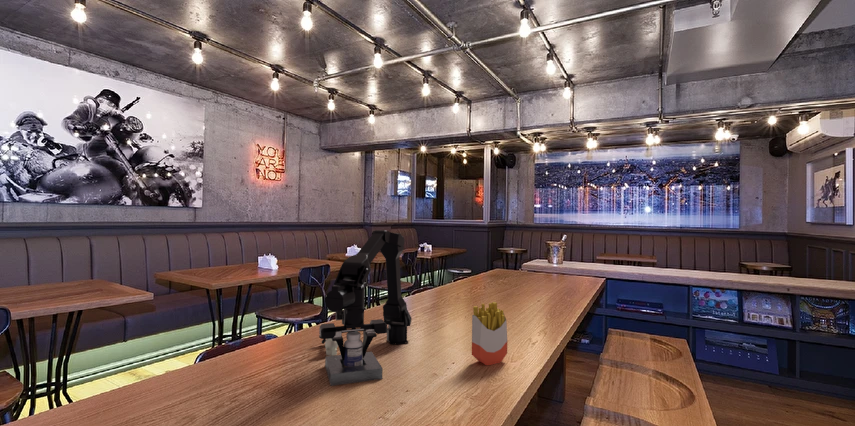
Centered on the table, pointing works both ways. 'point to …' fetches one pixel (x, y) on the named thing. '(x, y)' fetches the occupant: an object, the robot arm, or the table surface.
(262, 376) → the table surface
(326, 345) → the valve
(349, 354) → the pill bottle
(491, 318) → the french fries container
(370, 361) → the holder
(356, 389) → the table surface
